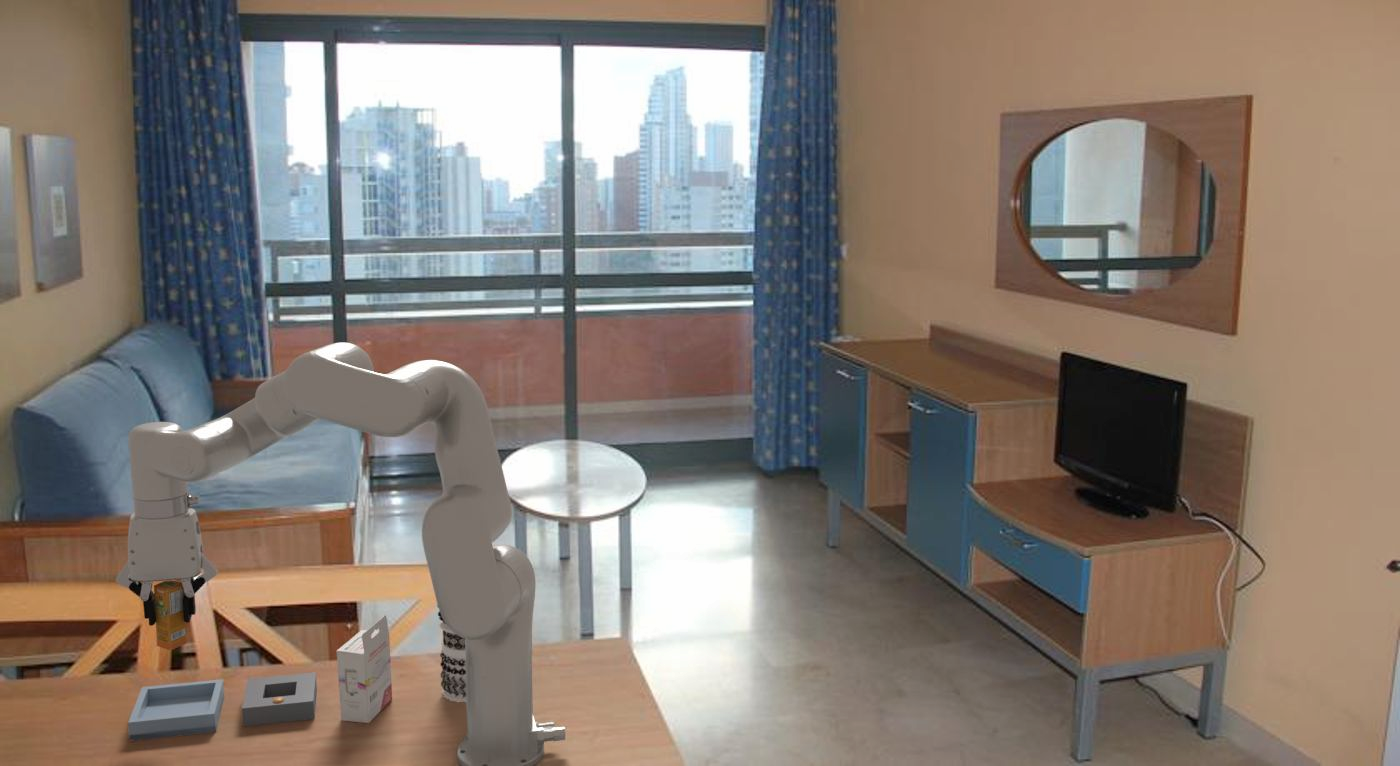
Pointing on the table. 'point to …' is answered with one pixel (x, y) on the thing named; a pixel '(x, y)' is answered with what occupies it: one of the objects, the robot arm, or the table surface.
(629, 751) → the table surface
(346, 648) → the ink cartridge box
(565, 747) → the table surface
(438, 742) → the table surface
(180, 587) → the supplement box
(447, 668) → the decorative candle
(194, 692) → the holder and tray
